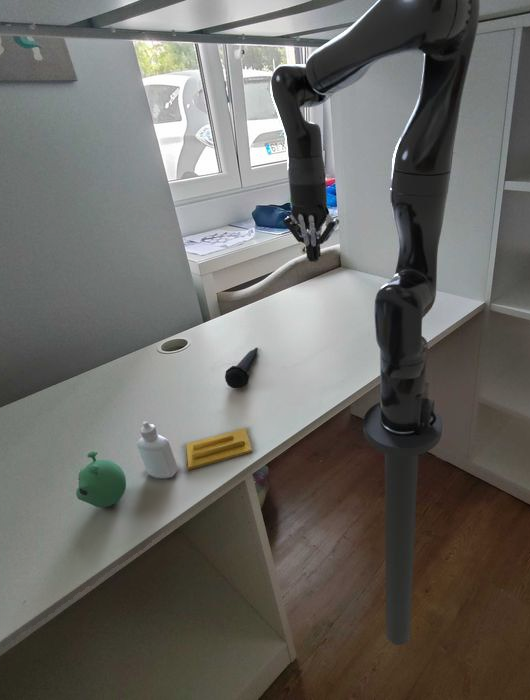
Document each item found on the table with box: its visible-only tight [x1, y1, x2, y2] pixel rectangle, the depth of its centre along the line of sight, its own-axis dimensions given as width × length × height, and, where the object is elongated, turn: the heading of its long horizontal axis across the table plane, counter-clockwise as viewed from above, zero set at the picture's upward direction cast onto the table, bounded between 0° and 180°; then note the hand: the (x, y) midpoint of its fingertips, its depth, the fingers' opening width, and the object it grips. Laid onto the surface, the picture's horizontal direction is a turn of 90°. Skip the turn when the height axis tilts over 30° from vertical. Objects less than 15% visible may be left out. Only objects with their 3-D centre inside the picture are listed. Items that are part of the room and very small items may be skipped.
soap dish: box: [185, 427, 253, 470], centre depth 87 cm, size 12×7×2 cm, turn 110°
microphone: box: [224, 346, 259, 389], centre depth 111 cm, size 6×6×20 cm
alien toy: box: [75, 450, 127, 508], centre depth 75 cm, size 7×8×10 cm
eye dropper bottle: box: [136, 420, 179, 479], centre depth 80 cm, size 4×6×12 cm
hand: (314, 260), depth 100 cm, fingers closed
